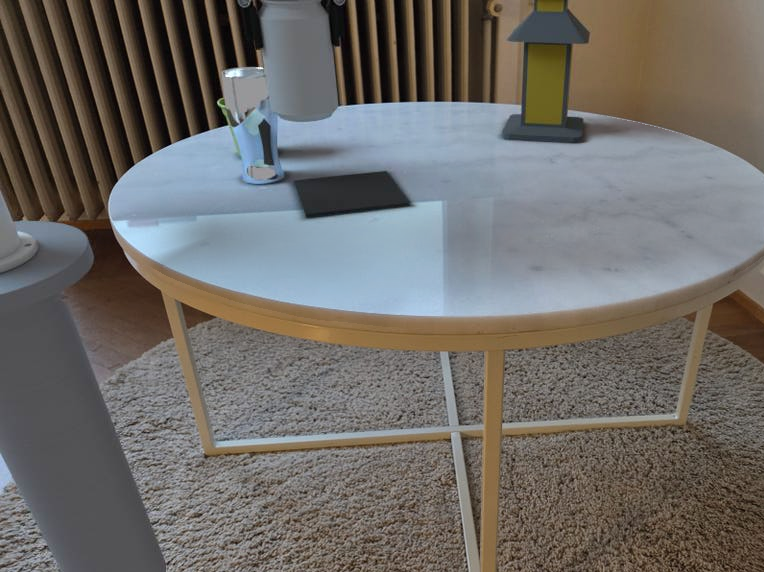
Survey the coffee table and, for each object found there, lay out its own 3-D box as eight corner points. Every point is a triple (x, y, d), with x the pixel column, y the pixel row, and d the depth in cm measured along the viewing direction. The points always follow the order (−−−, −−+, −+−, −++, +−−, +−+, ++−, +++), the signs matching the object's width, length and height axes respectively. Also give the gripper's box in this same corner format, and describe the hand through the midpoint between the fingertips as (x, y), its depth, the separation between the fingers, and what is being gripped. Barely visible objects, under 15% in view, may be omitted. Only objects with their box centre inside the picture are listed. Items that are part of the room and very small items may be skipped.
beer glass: (234, 185, 99) (212, 76, 91) (246, 170, 105) (226, 66, 97) (282, 185, 99) (264, 76, 91) (291, 170, 105) (276, 66, 97)
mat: (306, 217, 89) (305, 214, 89) (293, 183, 100) (293, 180, 100) (409, 205, 93) (409, 202, 93) (386, 173, 104) (386, 170, 104)
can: (297, 104, 81) (282, -9, 74) (351, 111, 79) (341, -6, 72) (258, 119, 75) (237, -3, 69) (314, 127, 73) (299, 2, 66)
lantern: (581, 143, 118) (599, -59, 102) (501, 139, 120) (506, -60, 103) (583, 122, 130) (599, -62, 113) (510, 118, 132) (516, -63, 115)
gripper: (169, -167, 58) (212, 56, 68) (371, -159, 63) (383, 49, 72) (173, -160, 64) (212, 43, 74) (357, -153, 68) (370, 37, 78)
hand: (297, 45), depth 73 cm, fingers closed on can, 7 cm apart
